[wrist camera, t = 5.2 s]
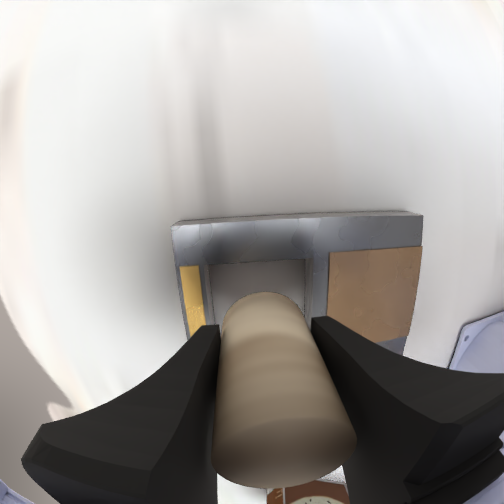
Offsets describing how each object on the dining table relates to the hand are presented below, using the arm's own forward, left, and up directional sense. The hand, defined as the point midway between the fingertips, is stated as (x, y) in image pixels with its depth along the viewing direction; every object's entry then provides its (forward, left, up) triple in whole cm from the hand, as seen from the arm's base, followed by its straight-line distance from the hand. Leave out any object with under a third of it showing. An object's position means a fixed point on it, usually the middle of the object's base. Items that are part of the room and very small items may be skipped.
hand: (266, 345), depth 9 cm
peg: (0, 0, -1) cm, 1 cm away
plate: (0, -3, -4) cm, 5 cm away
